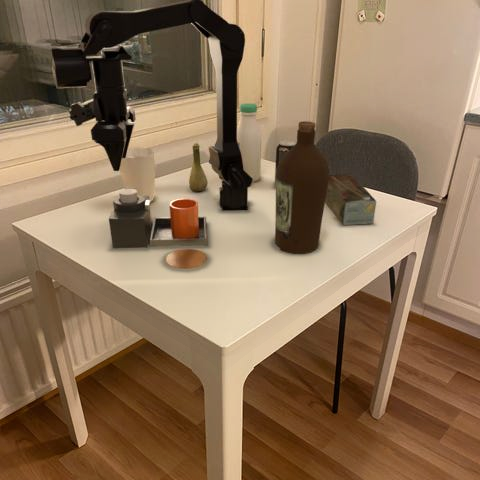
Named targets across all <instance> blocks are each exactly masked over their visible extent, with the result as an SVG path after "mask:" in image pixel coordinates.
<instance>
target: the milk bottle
mask: <svg viewBox="0 0 480 480" xmlns="http://www.w3.org/2000/svg"><path fill="white" fill-rule="evenodd" d="M257 111H258V105H257V104H255V103H250V102H249V103H247V102H246V103H241V104H239V114H240V117H239V121H238V123H237V142H238V145H239V148H240V151H241V154H242V161H243V168H244V169H243V170H244V171H245V172H246V173H247V174H248V175H249V176H250V177H251V178H252V179H253V180H252V183H255V182H257V181H259V180H260V178H261V170H262V169H261V165H262V134H261V130H260V127H259V124H258V121H257V114H258V113H257Z"/></svg>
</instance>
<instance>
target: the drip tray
mask: <svg viewBox="0 0 480 480" xmlns="http://www.w3.org/2000/svg"><path fill="white" fill-rule="evenodd" d="M152 219H153V220H152V224H151V229H150V234H149V247H150V248H153V247H155V248H157V247H202V246H204V247H206V246H208V235H207V234H208V233H207V232H208V231H207V216H198V220H199V235H198V236H197V237H195V238H179V239H177V238H174V237H173V236H172V232H171V218H170V216H169V217H167V216H165V217H163V216H162V217H153V218H152Z"/></svg>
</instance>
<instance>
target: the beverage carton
mask: <svg viewBox="0 0 480 480" xmlns="http://www.w3.org/2000/svg"><path fill="white" fill-rule="evenodd" d="M325 204H327V205H328V207H329V208H330V209H331V211H332V212H333V214H334V215H335V216H336V218H337V219H338V221H340V222H341V224H342V225H343V226H355V225H369V224H370V225H371V224H374V219H375V215H376V207H377V200H376V199H375V198H374V197H373V196H372V195H371V193H370V192H369V191H368V190H367V189H366V188H365V187H364V186H363V184H361V183H360V181H358V179H357V178H356V177H355V176H354V175H353V174H352V173H343V174H340V173H337V174H330V175H329V183H328V188H327V194H326V200H325Z"/></svg>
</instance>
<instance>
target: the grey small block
mask: <svg viewBox="0 0 480 480" xmlns="http://www.w3.org/2000/svg"><path fill="white" fill-rule="evenodd" d="M145 209H147V211H148V212H149V211H150V212H151V202H150V200H146V203H145Z"/></svg>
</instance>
